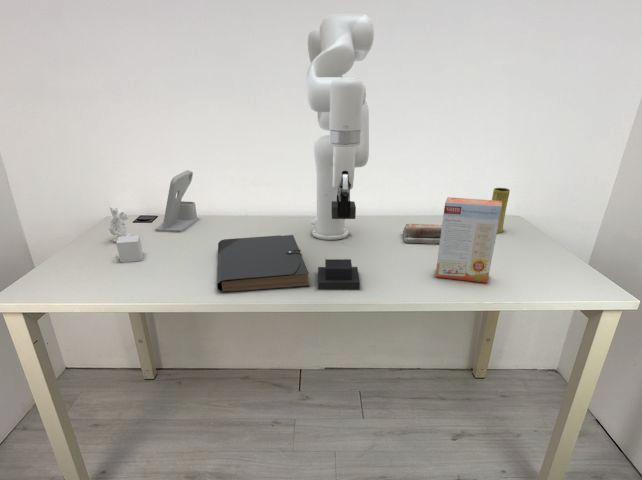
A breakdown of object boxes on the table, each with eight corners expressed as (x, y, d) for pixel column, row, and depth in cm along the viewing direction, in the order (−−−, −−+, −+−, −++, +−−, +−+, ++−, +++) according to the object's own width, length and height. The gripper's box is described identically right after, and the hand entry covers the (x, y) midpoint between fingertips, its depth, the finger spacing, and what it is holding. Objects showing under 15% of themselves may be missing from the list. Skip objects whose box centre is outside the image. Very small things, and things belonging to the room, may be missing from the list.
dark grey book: (309, 272, 123) (216, 279, 119) (310, 286, 125) (218, 294, 122) (293, 233, 151) (217, 238, 147) (294, 246, 153) (219, 251, 149)
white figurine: (130, 244, 154) (122, 207, 148) (108, 245, 153) (99, 208, 147) (134, 236, 161) (127, 201, 155) (114, 237, 160) (105, 201, 154)
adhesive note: (120, 262, 140) (115, 242, 137) (123, 255, 145) (118, 236, 142) (141, 260, 141) (137, 241, 138) (143, 254, 146) (139, 235, 143)
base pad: (317, 289, 124) (317, 282, 122) (318, 273, 133) (318, 266, 132) (359, 289, 124) (360, 282, 123) (356, 273, 133) (357, 266, 132)
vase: (504, 229, 168) (513, 188, 161) (500, 234, 164) (508, 192, 156) (487, 227, 171) (495, 186, 164) (482, 231, 167) (490, 190, 159)
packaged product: (405, 229, 153) (403, 220, 161) (404, 243, 155) (402, 234, 164) (462, 230, 151) (456, 221, 160) (459, 244, 154) (454, 235, 162)
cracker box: (488, 276, 132) (503, 200, 121) (487, 284, 127) (502, 205, 116) (437, 269, 135) (447, 195, 125) (434, 277, 131) (445, 200, 120)
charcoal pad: (325, 279, 124) (325, 268, 123) (325, 269, 130) (325, 259, 129) (351, 279, 124) (352, 268, 123) (350, 269, 130) (350, 259, 129)
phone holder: (174, 217, 181) (166, 168, 172) (200, 218, 180) (193, 169, 171) (155, 230, 166) (145, 177, 157) (182, 232, 165) (174, 178, 156)
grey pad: (331, 219, 120) (332, 207, 118) (331, 212, 125) (331, 201, 123) (355, 219, 120) (355, 207, 118) (353, 212, 125) (354, 201, 123)
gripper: (328, 133, 120) (328, 205, 129) (330, 143, 105) (329, 223, 115) (358, 133, 120) (355, 205, 130) (363, 143, 105) (360, 223, 115)
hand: (343, 212), depth 122 cm, fingers closed on grey pad, 6 cm apart
